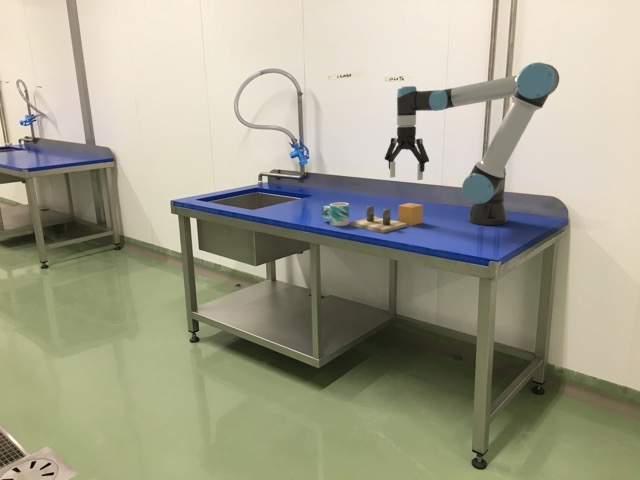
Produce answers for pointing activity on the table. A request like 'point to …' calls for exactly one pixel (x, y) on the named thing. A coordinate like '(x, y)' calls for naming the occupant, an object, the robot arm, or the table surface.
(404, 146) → the robot arm
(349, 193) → the table surface
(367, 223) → the board
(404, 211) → the wooden block
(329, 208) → the mug
